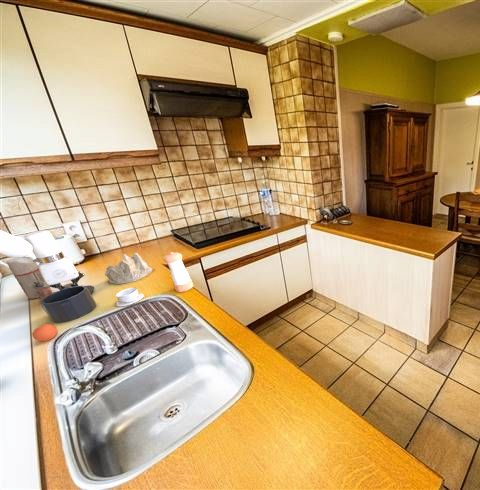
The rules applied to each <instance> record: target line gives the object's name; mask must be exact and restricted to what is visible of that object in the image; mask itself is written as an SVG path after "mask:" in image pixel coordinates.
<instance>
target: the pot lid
mask: <svg viewBox="0 0 480 490" xmlns="http://www.w3.org/2000/svg"><path fill="white" fill-rule="evenodd" d="M62 286H63V287H64V288H67V287H73V283H72V282H70V283H66V284H64V285H62ZM86 286H87V288H88V290H89V292H90V293H92V292H94V291H95V286H94V285H86Z"/></svg>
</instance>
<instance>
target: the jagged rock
mask: <svg viewBox="0 0 480 490" xmlns="http://www.w3.org/2000/svg"><path fill="white" fill-rule="evenodd" d="M153 271H154V270H153V268H152V267H151V265H150V266H149V265H148V263H147V260H145V259H144V258H142V257H141V255H140V254H139V253H138V252H134V253H133V256H129V255H128V254H126V253H123V254H122V259H121V260H120V262H119V263H118V264H116V265H114V266H113V265H112V264H110V265H108V267H107V268H106V270H105V272H104V276H105V277H107V279H108V282H109V284H112V285H123V284H129V283H133V282H136V281H139V280H142V279H143V278H145V277H146V276H148V275H149V274H151V273H152V272H153Z"/></svg>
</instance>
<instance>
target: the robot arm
mask: <svg viewBox="0 0 480 490" xmlns="http://www.w3.org/2000/svg"><path fill="white" fill-rule="evenodd" d="M32 253H33V255H34V256H35V258H34V259H33V262H34V263H35V262H36V263H37V265H38V267H39V270H40V272H41V274H42V276H43V278H44V280H45V281H44V286H43V287H50V288H51V289H52V288H53V289H57V290H58V291H59V290H62V289H64V287H63V286H64V285H62V283H64V282H69V281H71V283H72V284H73V287H74V286H79V284H78V283H79V281H80V280H81V279H82V278H83V277H85V273H83V272H82V271H80V270H78V269H77V267H76V266H75V264H74V263H73V262H72V260H71V259H70V258H69V257H68V256H65V255H64V253H63V251H62V249H61V248H60V246H59V244H58V243H57V241H56V239H55V238H54V236H53V234H52V233H51V231H50V230H45V229H43V230H37V231H31V232H29V233H25V234H18V235H13V234H11V233H9V232H6V231H4V230H2V229H0V254H1V255H3V256H6V257H8V258H11V259H16V258H22V257H29V256H30V255H31V254H32Z"/></svg>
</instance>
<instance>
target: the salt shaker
mask: <svg viewBox="0 0 480 490" xmlns="http://www.w3.org/2000/svg"><path fill="white" fill-rule="evenodd" d="M163 261H164V262H165V263H167V266H168V268H169V271H170V275H171V279H172V281H173V287H174V289H175V291H176V293H177V292H178V293H182V292H183V293H184V292H187V291H189V290H191V289H192V288H193V287H194V282H193V279H192V278H191V277H190V275H189V272H188V270H187V269H186V267H185V265H184V262H183V255H182V253H181V252H177V251H175V252H173V251H171V252H169V253H168V254H166V255H165V256H164V258H163Z"/></svg>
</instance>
